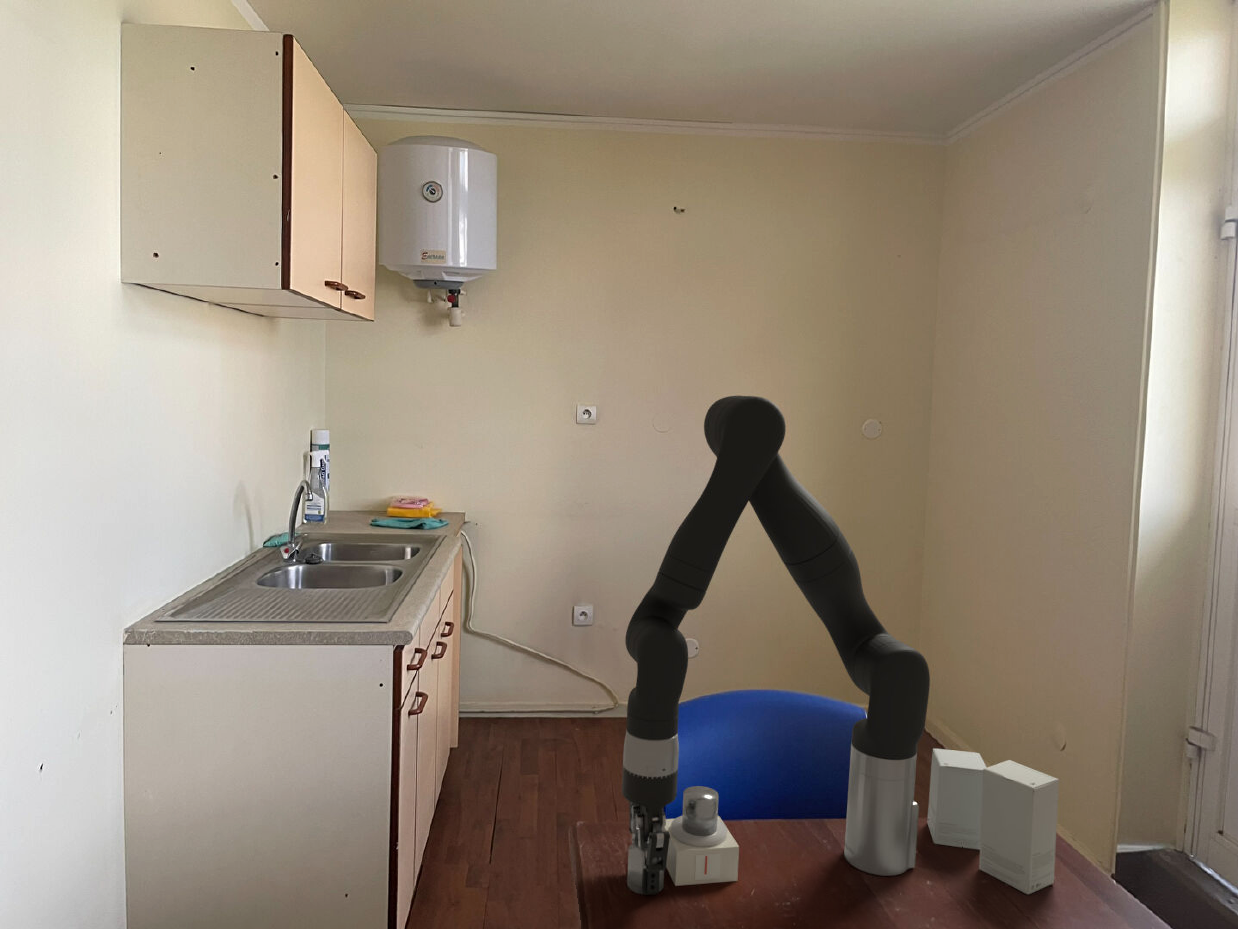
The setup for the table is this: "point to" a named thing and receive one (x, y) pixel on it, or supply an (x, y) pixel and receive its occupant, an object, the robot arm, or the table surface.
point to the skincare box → (1019, 826)
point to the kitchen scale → (701, 855)
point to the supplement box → (956, 798)
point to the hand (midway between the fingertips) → (645, 881)
